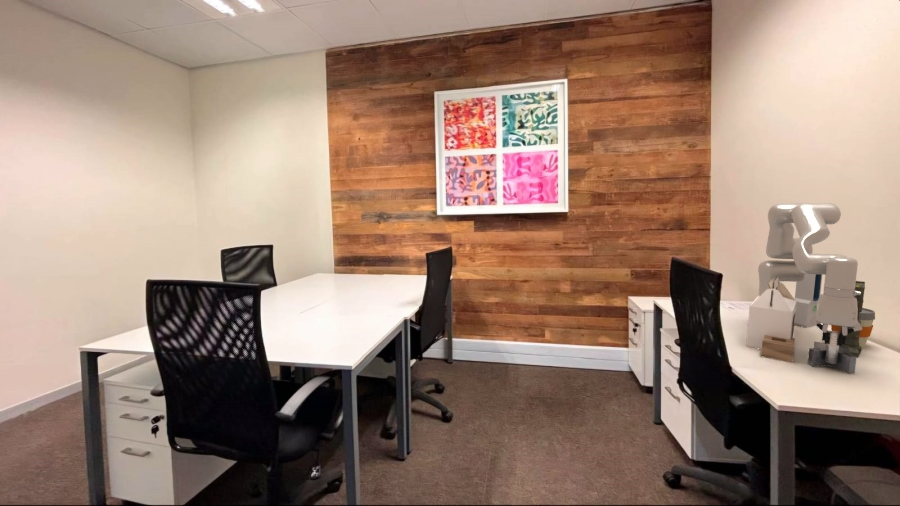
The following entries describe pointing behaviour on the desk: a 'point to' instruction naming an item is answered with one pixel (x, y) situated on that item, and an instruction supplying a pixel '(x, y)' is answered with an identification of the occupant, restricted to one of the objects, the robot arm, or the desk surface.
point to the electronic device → (807, 299)
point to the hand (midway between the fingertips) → (833, 343)
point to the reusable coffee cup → (862, 325)
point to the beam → (778, 348)
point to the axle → (832, 347)
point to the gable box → (771, 314)
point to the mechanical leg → (853, 337)
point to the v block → (843, 361)
